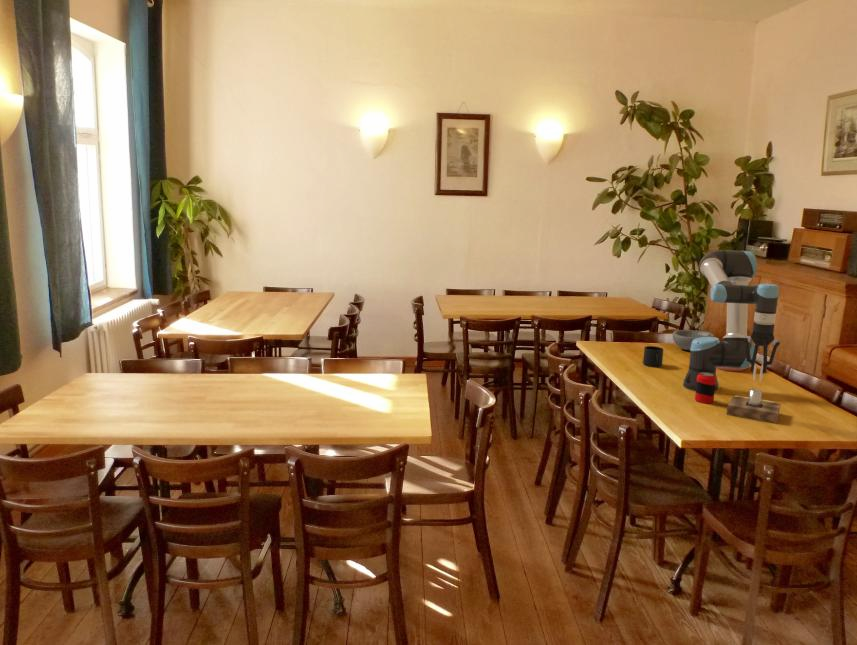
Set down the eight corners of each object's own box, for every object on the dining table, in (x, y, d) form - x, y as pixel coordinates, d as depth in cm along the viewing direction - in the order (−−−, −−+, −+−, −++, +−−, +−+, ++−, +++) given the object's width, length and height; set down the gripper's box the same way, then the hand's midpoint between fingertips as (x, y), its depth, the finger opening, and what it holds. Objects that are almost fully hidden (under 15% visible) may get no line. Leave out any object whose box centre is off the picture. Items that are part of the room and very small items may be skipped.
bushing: (746, 414, 268) (749, 391, 266) (747, 411, 272) (750, 388, 270) (758, 416, 266) (761, 392, 264) (759, 413, 269) (762, 390, 268)
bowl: (667, 344, 393) (669, 328, 391) (706, 346, 390) (708, 329, 388) (676, 353, 371) (677, 336, 369) (718, 355, 368) (720, 338, 366)
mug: (647, 368, 337) (648, 351, 335) (640, 362, 349) (642, 345, 347) (665, 368, 337) (667, 351, 335) (658, 363, 348) (660, 346, 347)
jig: (726, 414, 268) (728, 403, 267) (731, 405, 279) (732, 394, 278) (776, 423, 258) (777, 411, 257) (779, 413, 270) (780, 402, 269)
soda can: (692, 398, 289) (694, 371, 286) (709, 398, 289) (712, 372, 286) (698, 403, 281) (701, 376, 279) (716, 403, 281) (719, 376, 279)
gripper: (742, 322, 262) (735, 379, 267) (784, 326, 254) (777, 385, 259) (744, 319, 268) (738, 375, 273) (785, 323, 261) (778, 380, 265)
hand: (757, 379), depth 266 cm, fingers open, 2 cm apart
